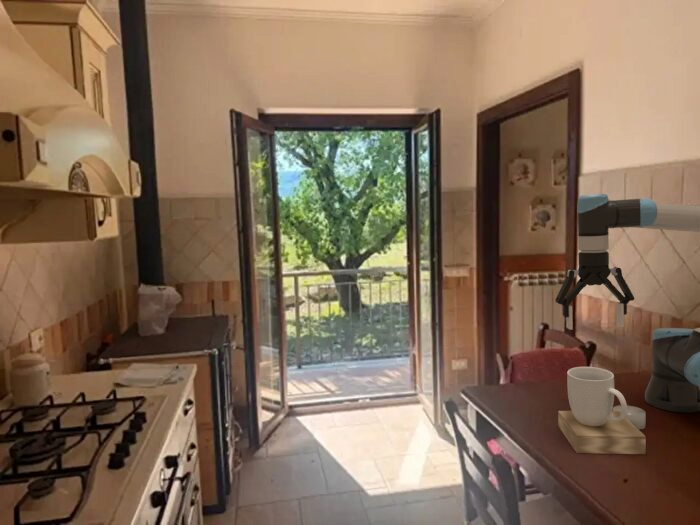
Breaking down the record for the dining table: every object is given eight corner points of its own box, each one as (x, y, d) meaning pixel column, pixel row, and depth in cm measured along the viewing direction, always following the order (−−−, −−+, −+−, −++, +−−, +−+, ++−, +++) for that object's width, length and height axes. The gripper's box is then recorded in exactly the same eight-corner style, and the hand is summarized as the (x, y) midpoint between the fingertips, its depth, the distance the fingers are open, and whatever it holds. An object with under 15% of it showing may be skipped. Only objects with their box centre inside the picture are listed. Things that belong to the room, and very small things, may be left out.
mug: (638, 427, 129) (638, 377, 128) (613, 440, 123) (612, 388, 122) (584, 409, 142) (583, 363, 140) (558, 420, 136) (557, 372, 134)
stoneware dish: (637, 418, 146) (638, 405, 146) (650, 430, 138) (650, 416, 138) (608, 418, 147) (608, 405, 147) (619, 430, 139) (619, 416, 139)
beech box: (619, 428, 141) (619, 411, 140) (645, 456, 125) (645, 436, 125) (558, 428, 143) (558, 410, 142) (576, 455, 127) (576, 435, 127)
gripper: (634, 247, 143) (634, 322, 145) (542, 252, 145) (544, 326, 147) (647, 249, 136) (648, 328, 138) (551, 254, 137) (553, 332, 139)
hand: (594, 327), depth 142 cm, fingers open, 13 cm apart
